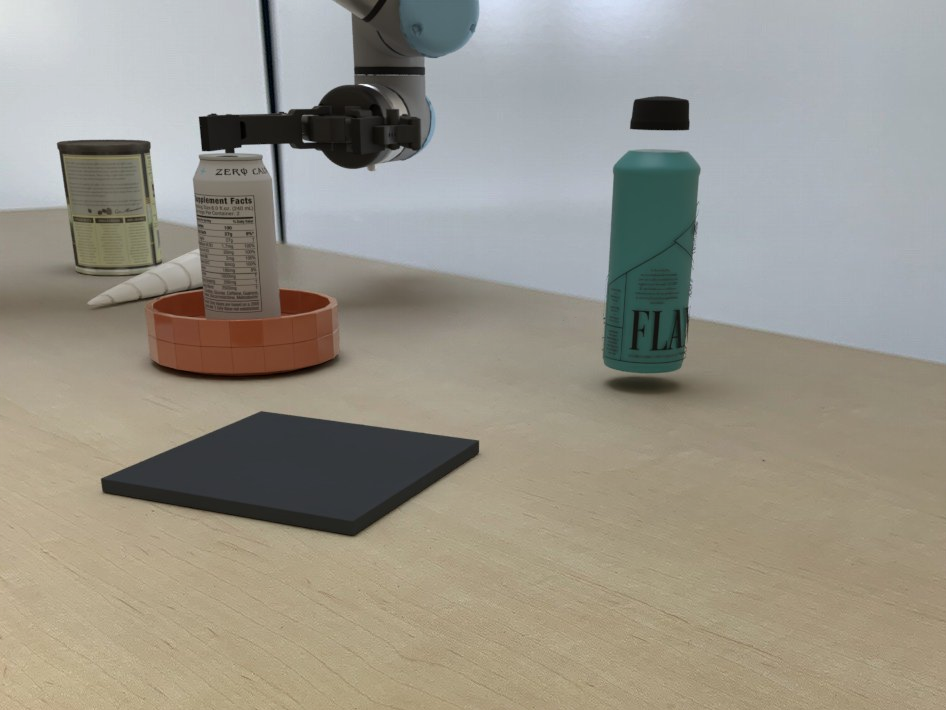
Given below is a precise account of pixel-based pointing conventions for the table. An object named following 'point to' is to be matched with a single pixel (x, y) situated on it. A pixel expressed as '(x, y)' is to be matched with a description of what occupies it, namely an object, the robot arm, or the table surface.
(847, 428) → the table surface
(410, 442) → the mat
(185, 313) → the bowl
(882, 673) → the table surface
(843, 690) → the table surface
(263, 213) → the energy drink can
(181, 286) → the unicorn horn
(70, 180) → the coffee can
